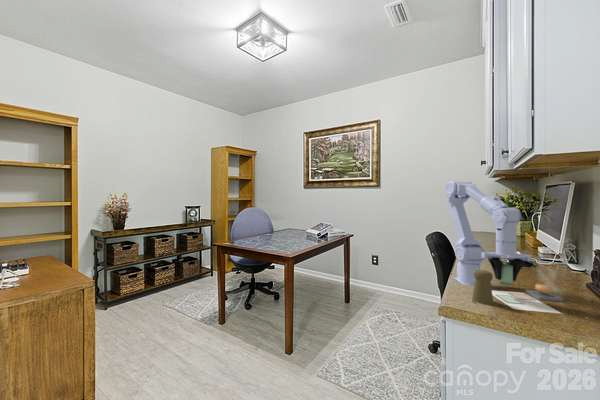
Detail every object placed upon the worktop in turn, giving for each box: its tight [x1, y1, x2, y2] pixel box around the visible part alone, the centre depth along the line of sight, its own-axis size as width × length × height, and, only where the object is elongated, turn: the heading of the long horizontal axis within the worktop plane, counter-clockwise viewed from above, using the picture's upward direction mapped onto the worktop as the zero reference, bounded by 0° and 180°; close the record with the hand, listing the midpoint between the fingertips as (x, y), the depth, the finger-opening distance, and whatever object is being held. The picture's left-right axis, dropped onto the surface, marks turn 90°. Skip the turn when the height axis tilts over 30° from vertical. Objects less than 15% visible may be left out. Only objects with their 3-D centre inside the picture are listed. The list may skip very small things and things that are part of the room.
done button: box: [534, 283, 553, 294], centre depth 91 cm, size 4×4×2 cm
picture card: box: [492, 289, 563, 315], centre depth 87 cm, size 18×13×1 cm
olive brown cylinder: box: [471, 269, 494, 306], centre depth 86 cm, size 6×6×11 cm
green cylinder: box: [498, 262, 514, 287], centre depth 90 cm, size 4×4×7 cm
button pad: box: [525, 289, 564, 303], centre depth 91 cm, size 7×7×2 cm
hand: (505, 279), depth 90 cm, fingers closed on green cylinder, 4 cm apart
